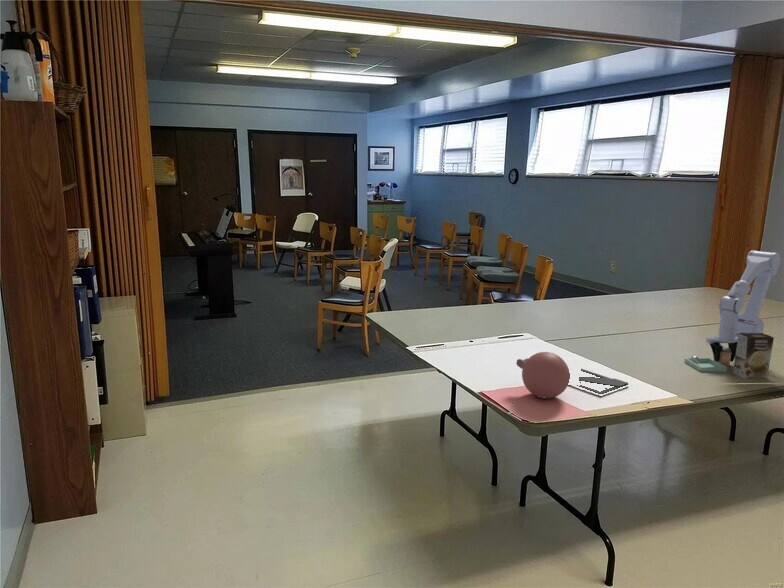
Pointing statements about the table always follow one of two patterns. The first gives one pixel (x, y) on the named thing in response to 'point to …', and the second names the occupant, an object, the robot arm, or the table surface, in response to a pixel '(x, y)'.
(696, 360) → the ball
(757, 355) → the coffee box
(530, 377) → the balloon
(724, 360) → the shaker
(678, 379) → the table surface
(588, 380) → the picture frame
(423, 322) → the table surface
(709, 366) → the tray
